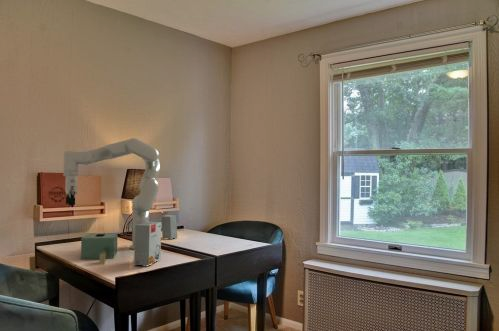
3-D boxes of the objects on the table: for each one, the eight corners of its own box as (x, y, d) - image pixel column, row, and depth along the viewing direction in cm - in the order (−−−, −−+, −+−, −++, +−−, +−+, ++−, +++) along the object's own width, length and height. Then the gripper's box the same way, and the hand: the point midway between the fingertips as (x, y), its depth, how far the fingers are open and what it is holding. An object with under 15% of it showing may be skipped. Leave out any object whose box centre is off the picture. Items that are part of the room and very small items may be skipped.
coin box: (117, 252, 223) (117, 232, 223) (113, 258, 208) (113, 237, 208) (87, 253, 220) (87, 233, 220) (81, 259, 204) (81, 238, 205)
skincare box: (177, 238, 270) (177, 215, 270) (170, 240, 264) (170, 216, 264) (168, 237, 275) (168, 214, 275) (160, 238, 269) (161, 215, 269)
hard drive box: (148, 267, 190) (149, 225, 191) (133, 266, 192) (134, 225, 192) (161, 260, 206) (161, 221, 206) (147, 259, 207) (147, 221, 207)
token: (106, 261, 201) (106, 251, 201) (104, 264, 195) (104, 254, 195) (101, 261, 201) (101, 251, 201) (99, 264, 195) (99, 254, 195)
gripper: (81, 173, 215) (80, 205, 215) (75, 173, 229) (75, 203, 229) (65, 173, 211) (65, 206, 210) (61, 173, 225) (60, 203, 225)
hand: (70, 204), depth 220 cm, fingers open, 9 cm apart
